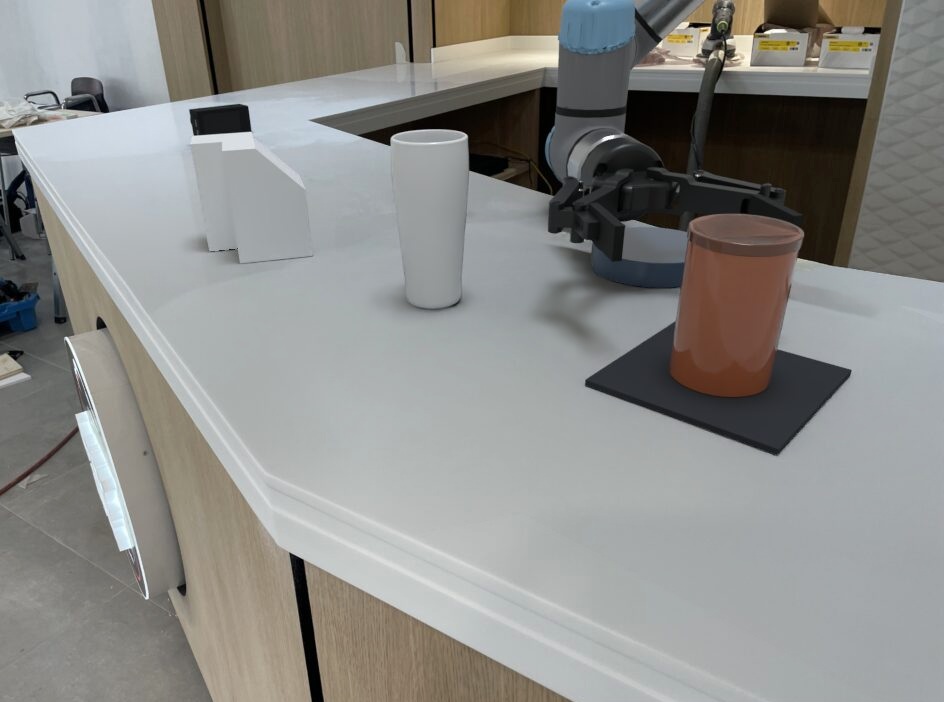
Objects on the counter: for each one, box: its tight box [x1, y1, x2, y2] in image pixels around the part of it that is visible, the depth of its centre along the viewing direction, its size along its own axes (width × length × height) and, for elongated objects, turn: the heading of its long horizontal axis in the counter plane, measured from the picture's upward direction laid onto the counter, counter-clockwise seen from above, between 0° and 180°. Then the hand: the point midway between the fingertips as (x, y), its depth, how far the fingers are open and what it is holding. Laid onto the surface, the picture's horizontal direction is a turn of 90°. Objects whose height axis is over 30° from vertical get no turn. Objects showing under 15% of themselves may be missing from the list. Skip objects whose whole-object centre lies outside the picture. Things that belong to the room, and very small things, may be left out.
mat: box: [584, 320, 852, 456], centre depth 54 cm, size 14×14×1 cm
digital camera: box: [188, 103, 253, 136], centre depth 142 cm, size 10×5×7 cm, turn 126°
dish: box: [590, 226, 688, 289], centre depth 75 cm, size 12×12×2 cm
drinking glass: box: [390, 129, 470, 310], centre depth 66 cm, size 7×7×15 cm
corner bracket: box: [189, 131, 314, 264], centre depth 82 cm, size 11×11×12 cm
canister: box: [669, 214, 805, 397], centre depth 51 cm, size 7×7×11 cm
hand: (707, 238), depth 54 cm, fingers open, 13 cm apart
